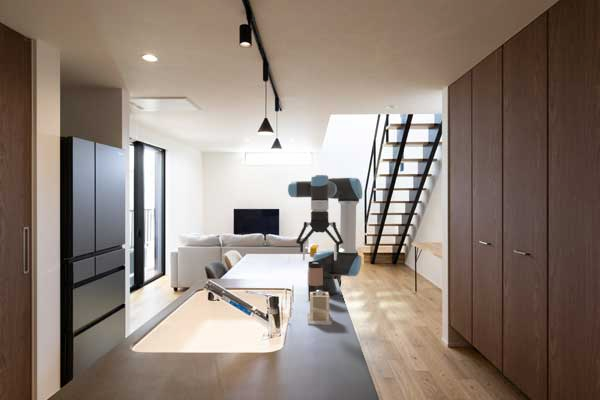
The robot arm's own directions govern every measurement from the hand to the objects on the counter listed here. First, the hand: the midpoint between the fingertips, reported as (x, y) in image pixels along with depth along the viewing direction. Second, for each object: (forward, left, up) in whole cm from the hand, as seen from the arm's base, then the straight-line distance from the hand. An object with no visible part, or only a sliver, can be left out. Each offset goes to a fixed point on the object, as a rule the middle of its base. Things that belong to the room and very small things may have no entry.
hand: (319, 259), depth 158 cm
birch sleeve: (0, 0, -25) cm, 25 cm away
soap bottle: (-54, -39, -26) cm, 72 cm away
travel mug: (-25, -19, -26) cm, 41 cm away
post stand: (0, 0, -26) cm, 26 cm away
